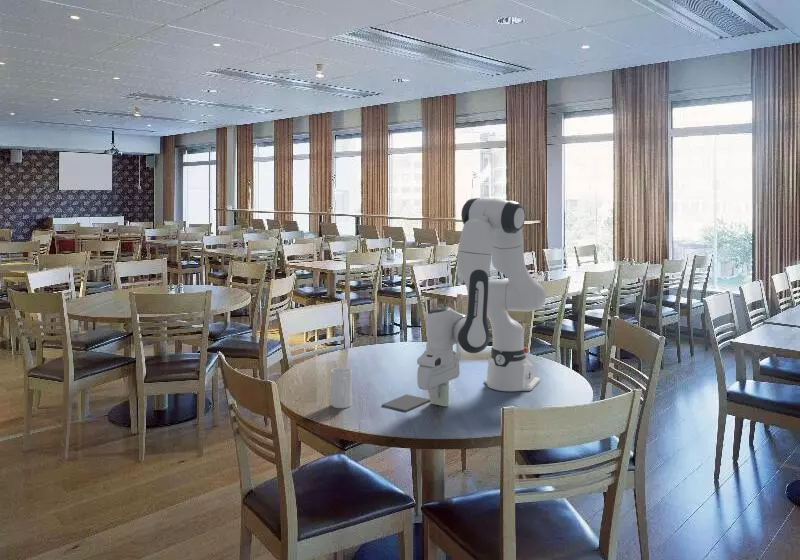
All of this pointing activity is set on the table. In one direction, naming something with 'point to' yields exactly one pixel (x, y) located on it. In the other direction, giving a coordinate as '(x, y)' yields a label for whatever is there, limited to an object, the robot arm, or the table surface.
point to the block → (441, 395)
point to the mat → (406, 403)
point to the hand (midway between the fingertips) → (439, 396)
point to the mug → (341, 387)
